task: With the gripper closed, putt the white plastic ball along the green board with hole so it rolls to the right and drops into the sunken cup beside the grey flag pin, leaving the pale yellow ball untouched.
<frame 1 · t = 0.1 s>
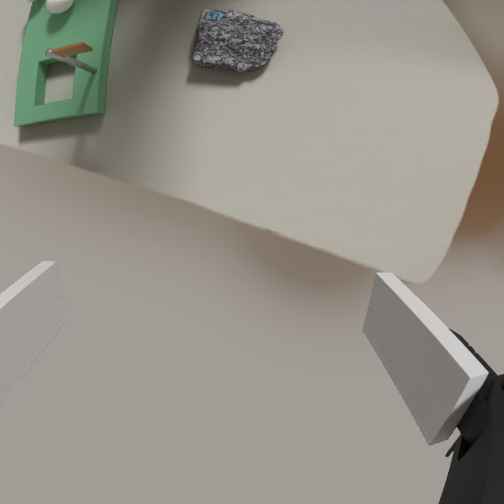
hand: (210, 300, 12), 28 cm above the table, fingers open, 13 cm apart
pin: (102, 74, 32), resting on green board with hole
ball: (60, 0, 23), point 4 cm above the table, touching green board with hole
green board with hole: (68, 39, 29), on the table
rock: (233, 42, 32), on the table
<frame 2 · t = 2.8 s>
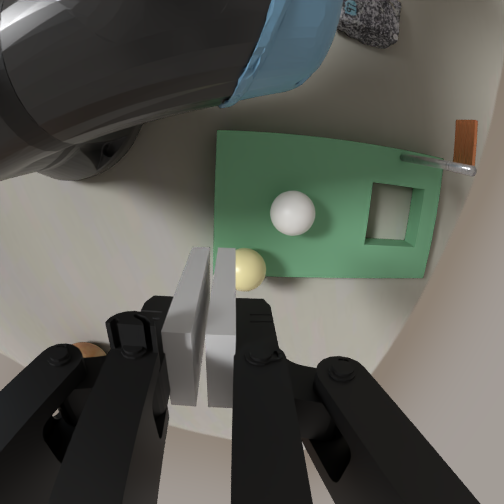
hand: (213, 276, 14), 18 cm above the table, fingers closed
pin: (392, 156, 30), resting on green board with hole
ball2: (244, 269, 29), point 4 cm above the table, touching green board with hole
ball: (292, 213, 27), point 4 cm above the table, touching green board with hole
fruit: (94, 353, 37), on the table
green board with hole: (331, 206, 32), on the table
rock: (356, 9, 25), on the table
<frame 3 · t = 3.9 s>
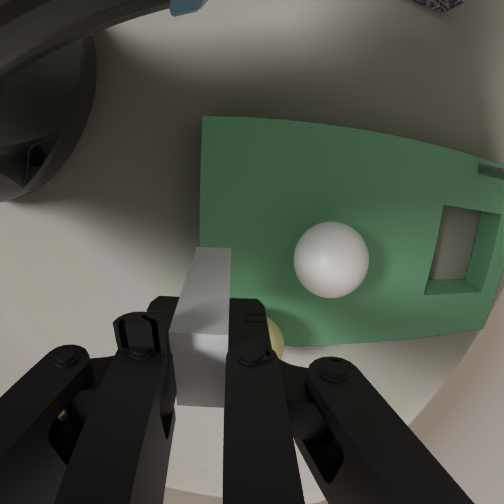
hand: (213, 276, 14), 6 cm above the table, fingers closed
pin: (460, 164, 19), resting on green board with hole
ball2: (249, 345, 18), point 4 cm above the table, touching green board with hole
ball: (331, 259, 16), point 4 cm above the table, touching green board with hole
green board with hole: (379, 238, 21), on the table
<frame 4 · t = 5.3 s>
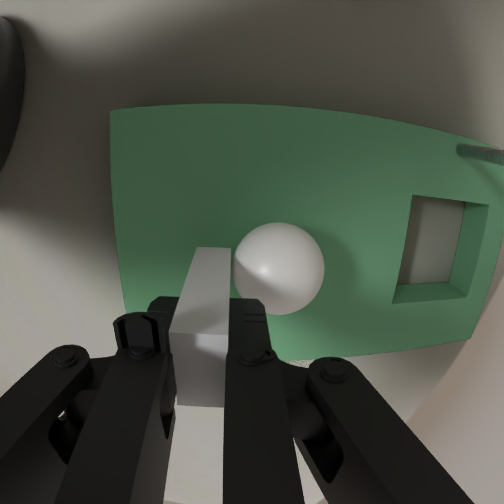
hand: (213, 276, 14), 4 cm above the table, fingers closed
pin: (437, 146, 16), resting on green board with hole
ball: (278, 268, 14), point 4 cm above the table, tilted 24°, touching green board with hole
green board with hole: (336, 236, 18), on the table
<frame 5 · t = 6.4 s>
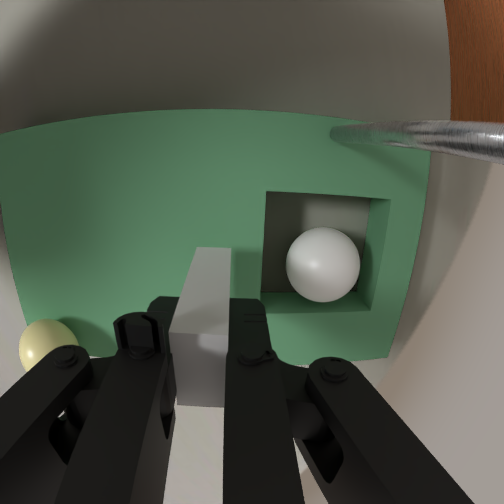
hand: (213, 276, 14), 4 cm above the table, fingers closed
pin: (323, 134, 16), resting on green board with hole
ball2: (49, 352, 15), point 4 cm above the table, touching green board with hole
ball: (323, 264, 16), point 2 cm above the table, tilted 8°
green board with hole: (201, 239, 18), on the table
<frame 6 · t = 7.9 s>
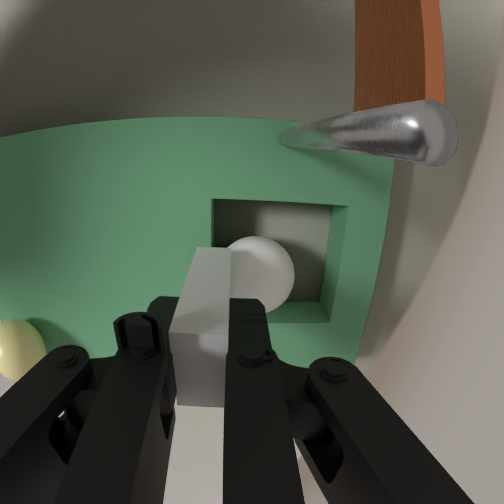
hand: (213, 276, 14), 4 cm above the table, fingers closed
pin: (279, 138, 16), resting on green board with hole
ball2: (17, 350, 14), point 4 cm above the table, touching green board with hole
ball: (255, 275, 16), point 2 cm above the table, tilted 31°, touching gripper
green board with hole: (157, 246, 17), on the table
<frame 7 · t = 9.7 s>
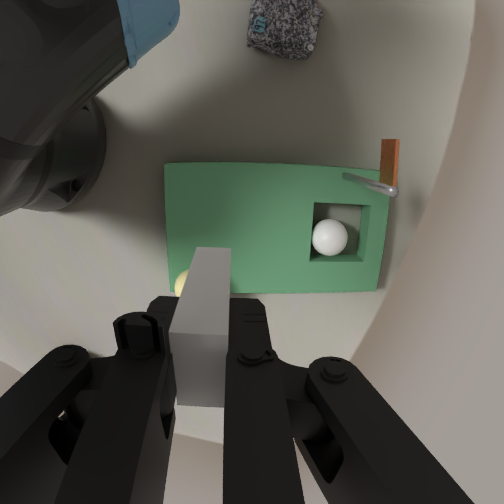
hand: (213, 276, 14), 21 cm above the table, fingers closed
pin: (338, 173, 33), resting on green board with hole
ball2: (193, 287, 32), point 4 cm above the table, touching green board with hole
ball: (329, 237, 33), point 2 cm above the table, tilted 33°
green board with hole: (278, 226, 35), on the table
rock: (278, 22, 28), on the table
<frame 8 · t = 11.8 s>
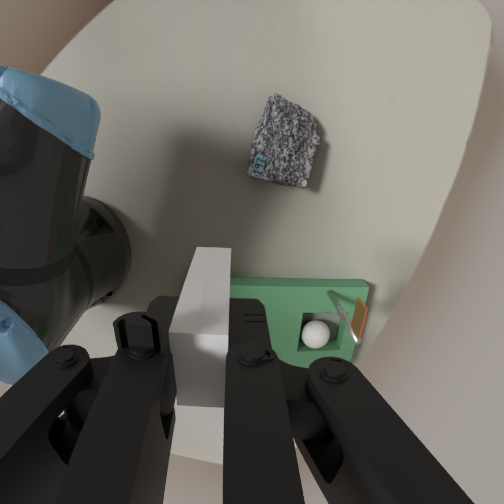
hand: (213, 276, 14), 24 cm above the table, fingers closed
pin: (325, 284, 42), resting on green board with hole
ball: (315, 334, 42), point 2 cm above the table, tilted 26°
green board with hole: (274, 323, 43), on the table
rock: (277, 144, 36), on the table
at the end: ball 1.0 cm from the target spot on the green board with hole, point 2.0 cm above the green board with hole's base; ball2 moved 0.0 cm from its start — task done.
